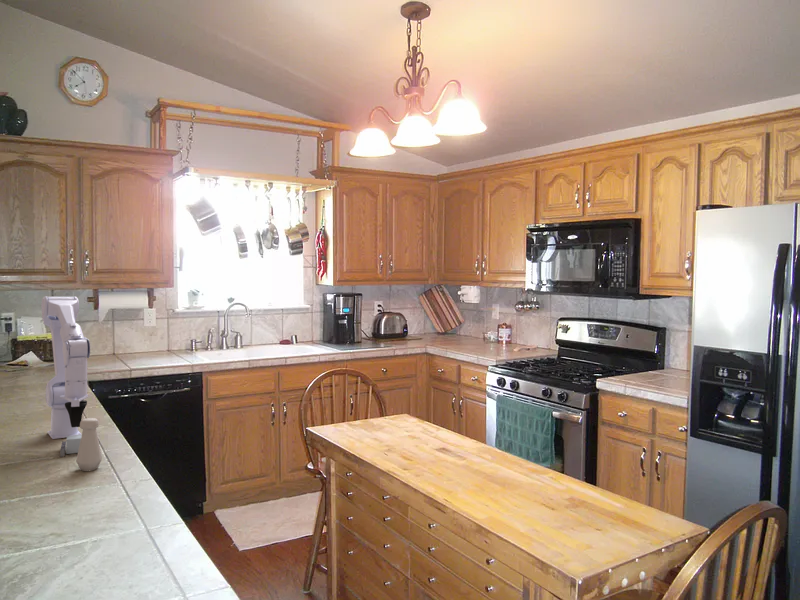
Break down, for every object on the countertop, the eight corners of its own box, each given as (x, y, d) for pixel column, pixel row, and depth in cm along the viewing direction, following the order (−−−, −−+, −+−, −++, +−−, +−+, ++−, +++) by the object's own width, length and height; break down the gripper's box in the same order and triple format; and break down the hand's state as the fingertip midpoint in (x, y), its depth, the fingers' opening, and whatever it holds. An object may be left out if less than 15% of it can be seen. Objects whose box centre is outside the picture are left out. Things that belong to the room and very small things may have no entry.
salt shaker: (95, 463, 159) (96, 415, 158) (105, 468, 155) (106, 418, 155) (72, 468, 154) (72, 418, 154) (82, 473, 151) (82, 422, 150)
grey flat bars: (62, 448, 172) (62, 441, 171) (88, 446, 175) (88, 439, 174) (60, 457, 164) (60, 449, 163) (87, 454, 167) (88, 447, 166)
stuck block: (66, 449, 169) (67, 436, 169) (82, 448, 171) (83, 434, 171) (66, 453, 166) (66, 439, 166) (82, 452, 168) (82, 438, 168)
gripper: (61, 377, 179) (61, 422, 179) (59, 385, 166) (58, 433, 166) (88, 376, 182) (87, 420, 182) (87, 383, 169) (87, 431, 169)
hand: (75, 426), depth 175 cm, fingers closed
